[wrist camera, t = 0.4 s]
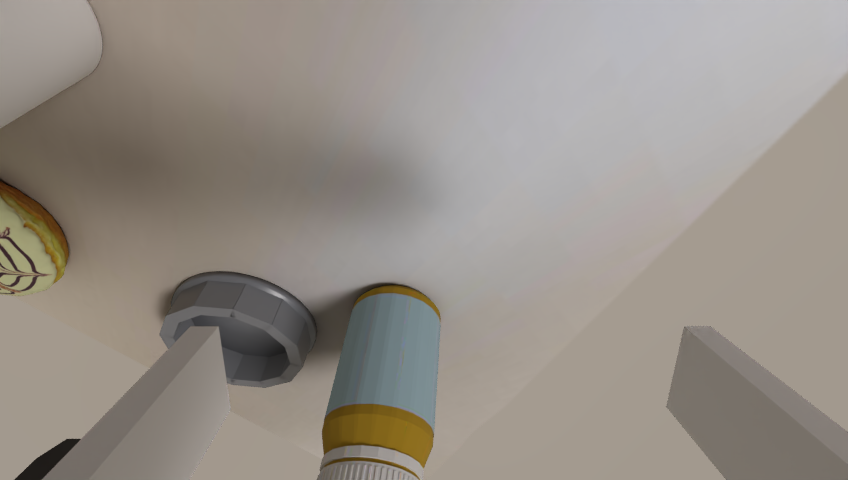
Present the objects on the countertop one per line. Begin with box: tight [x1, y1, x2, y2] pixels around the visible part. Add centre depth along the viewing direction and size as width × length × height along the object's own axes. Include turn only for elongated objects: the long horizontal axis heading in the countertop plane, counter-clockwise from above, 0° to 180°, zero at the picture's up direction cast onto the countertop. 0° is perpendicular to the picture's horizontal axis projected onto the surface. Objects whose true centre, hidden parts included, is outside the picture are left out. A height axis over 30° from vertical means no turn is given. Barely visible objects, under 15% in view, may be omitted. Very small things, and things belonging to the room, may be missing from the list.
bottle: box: [317, 285, 440, 480], centre depth 30 cm, size 7×7×15 cm
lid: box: [160, 272, 317, 388], centre depth 36 cm, size 12×12×3 cm
